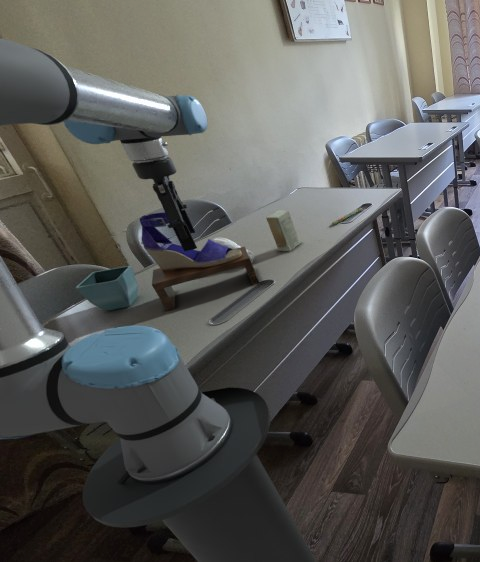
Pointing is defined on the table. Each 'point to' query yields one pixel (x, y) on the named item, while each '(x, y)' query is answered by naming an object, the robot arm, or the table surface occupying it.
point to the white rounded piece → (232, 245)
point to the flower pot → (110, 288)
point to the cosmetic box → (283, 230)
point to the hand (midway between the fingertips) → (190, 241)
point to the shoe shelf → (195, 277)
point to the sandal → (180, 248)
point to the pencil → (346, 216)
